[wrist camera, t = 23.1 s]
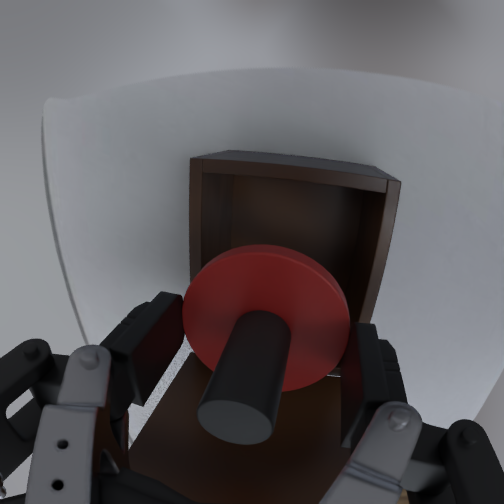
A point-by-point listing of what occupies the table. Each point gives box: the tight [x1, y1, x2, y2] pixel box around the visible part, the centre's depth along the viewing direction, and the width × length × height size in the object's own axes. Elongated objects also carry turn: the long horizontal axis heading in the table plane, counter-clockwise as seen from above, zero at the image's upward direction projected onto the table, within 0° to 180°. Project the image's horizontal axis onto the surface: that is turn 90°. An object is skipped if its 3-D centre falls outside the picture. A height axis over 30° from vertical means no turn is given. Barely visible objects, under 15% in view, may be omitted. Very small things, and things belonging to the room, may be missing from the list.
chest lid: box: [128, 352, 350, 504], centre depth 14 cm, size 14×12×5 cm
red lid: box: [182, 245, 350, 445], centre depth 9 cm, size 6×6×5 cm
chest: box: [189, 150, 401, 376], centre depth 22 cm, size 14×12×8 cm
